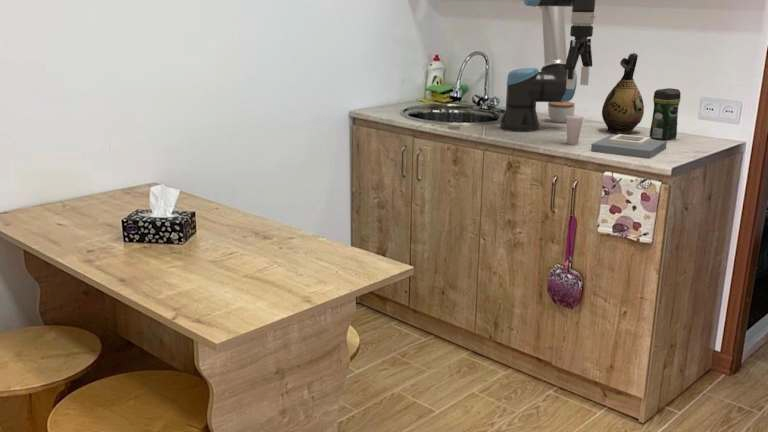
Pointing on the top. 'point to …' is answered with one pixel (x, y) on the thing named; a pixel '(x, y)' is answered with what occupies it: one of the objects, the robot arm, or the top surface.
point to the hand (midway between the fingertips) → (577, 87)
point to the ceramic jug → (624, 101)
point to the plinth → (629, 145)
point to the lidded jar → (560, 111)
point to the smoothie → (573, 127)
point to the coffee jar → (665, 114)
